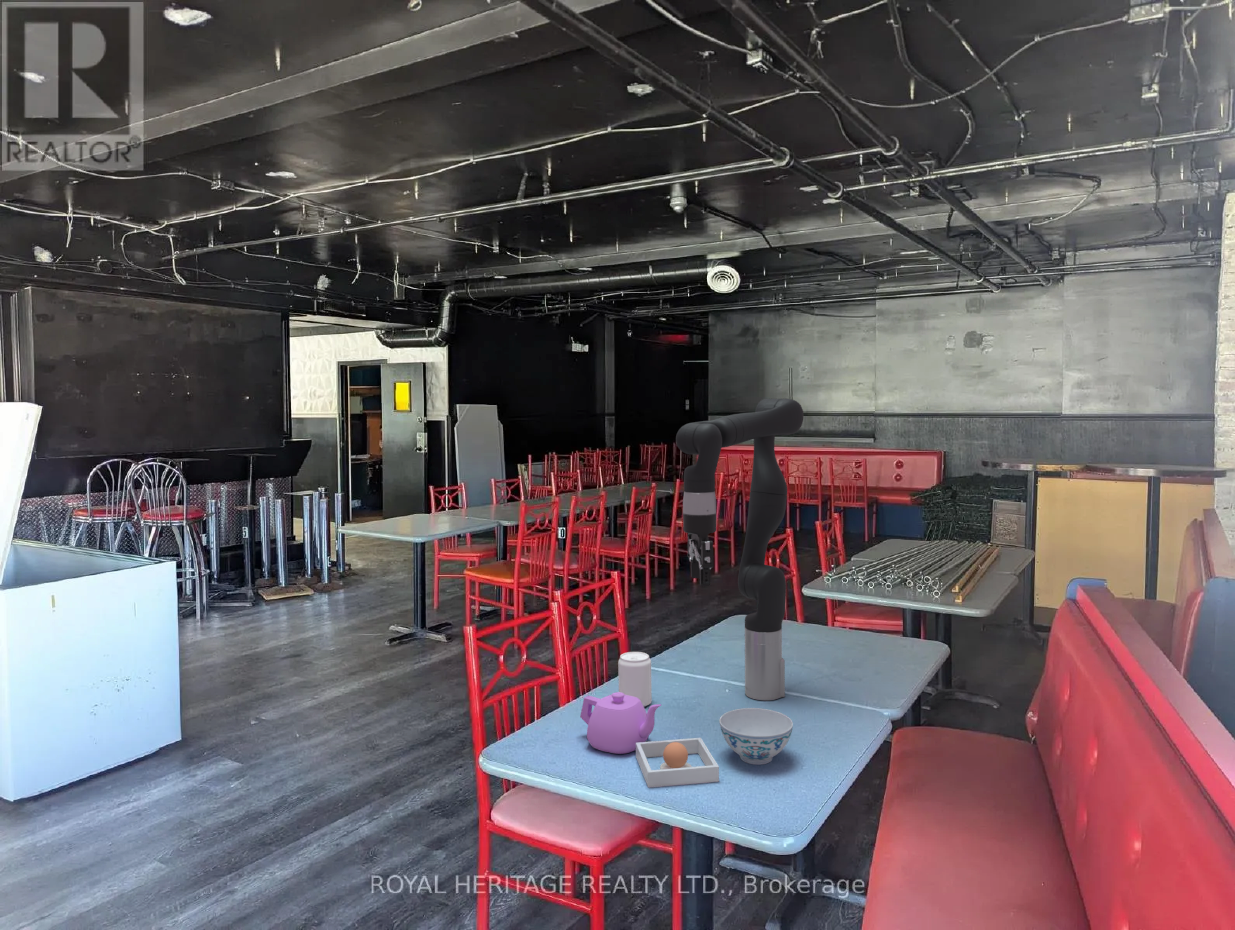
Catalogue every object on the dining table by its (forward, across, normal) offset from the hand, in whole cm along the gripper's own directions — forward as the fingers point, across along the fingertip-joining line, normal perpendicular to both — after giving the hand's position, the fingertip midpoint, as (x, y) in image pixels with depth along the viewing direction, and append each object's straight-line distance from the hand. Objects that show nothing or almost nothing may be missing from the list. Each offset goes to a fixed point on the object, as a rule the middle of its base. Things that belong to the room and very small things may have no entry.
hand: (700, 581), depth 182 cm
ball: (+33, -22, +11) cm, 41 cm away
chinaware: (+33, -20, -6) cm, 39 cm away
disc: (+33, -22, +11) cm, 41 cm away
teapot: (+33, -8, +20) cm, 40 cm away
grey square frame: (+33, -22, +11) cm, 41 cm away
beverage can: (+33, +15, +13) cm, 39 cm away
